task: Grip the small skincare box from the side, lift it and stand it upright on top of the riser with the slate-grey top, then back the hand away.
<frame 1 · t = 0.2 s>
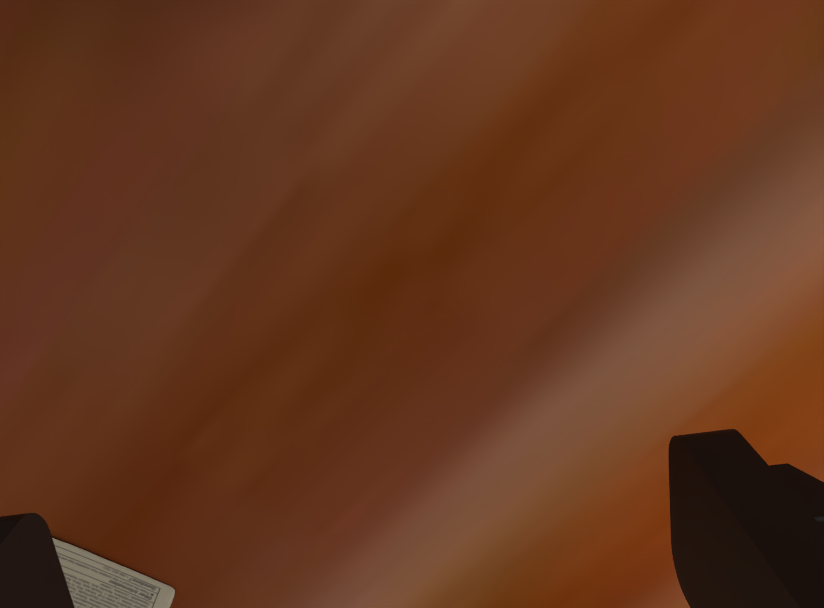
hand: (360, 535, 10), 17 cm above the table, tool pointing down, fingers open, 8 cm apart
skincare box: (95, 590, 32), on the table
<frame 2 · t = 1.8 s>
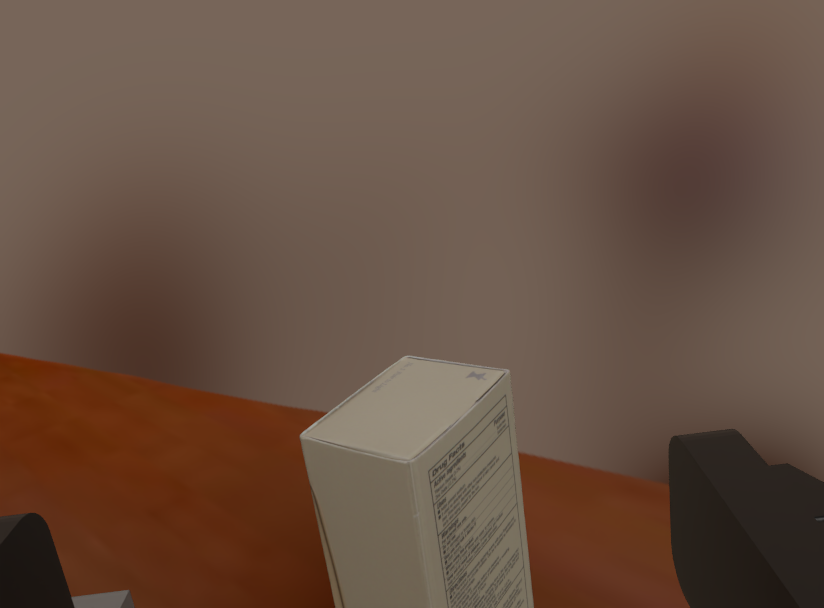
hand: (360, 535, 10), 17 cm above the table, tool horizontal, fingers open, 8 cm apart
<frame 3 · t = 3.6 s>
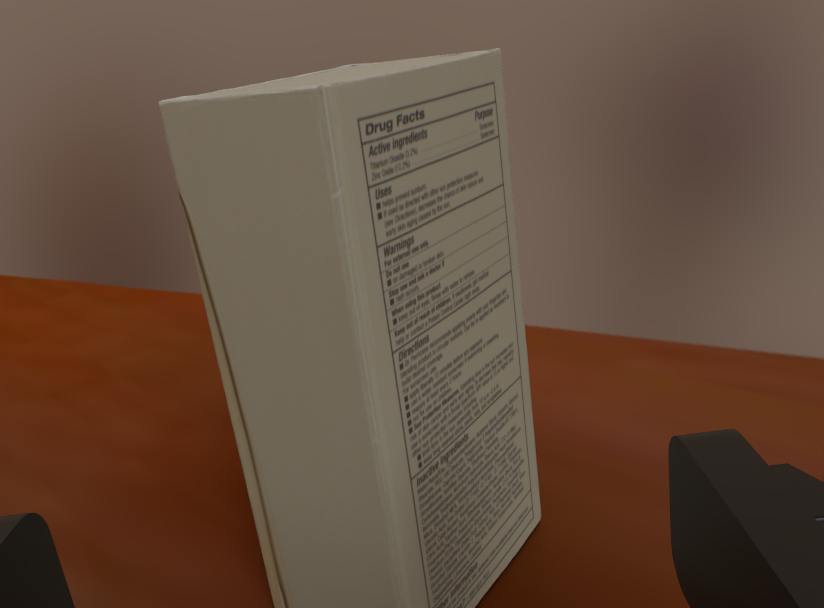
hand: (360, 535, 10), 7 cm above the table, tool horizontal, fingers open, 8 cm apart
skincare box: (418, 578, 19), on the table
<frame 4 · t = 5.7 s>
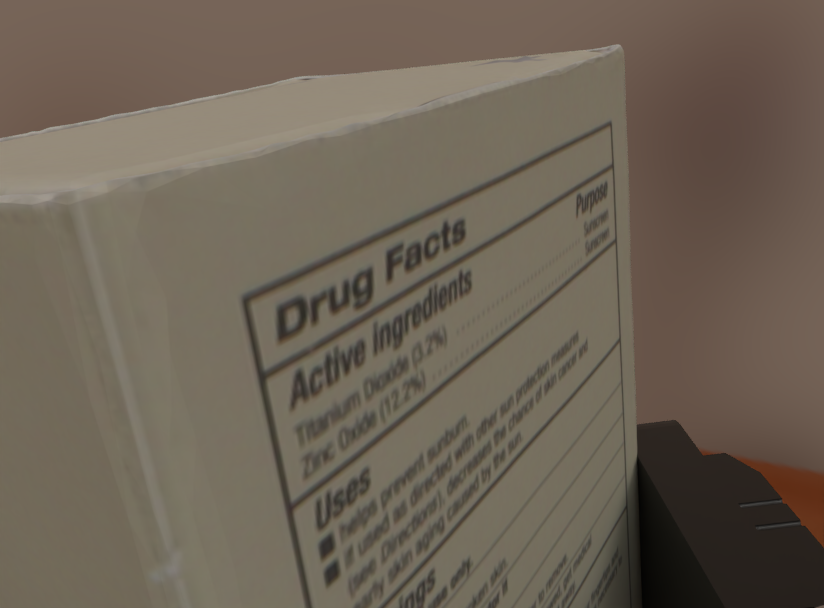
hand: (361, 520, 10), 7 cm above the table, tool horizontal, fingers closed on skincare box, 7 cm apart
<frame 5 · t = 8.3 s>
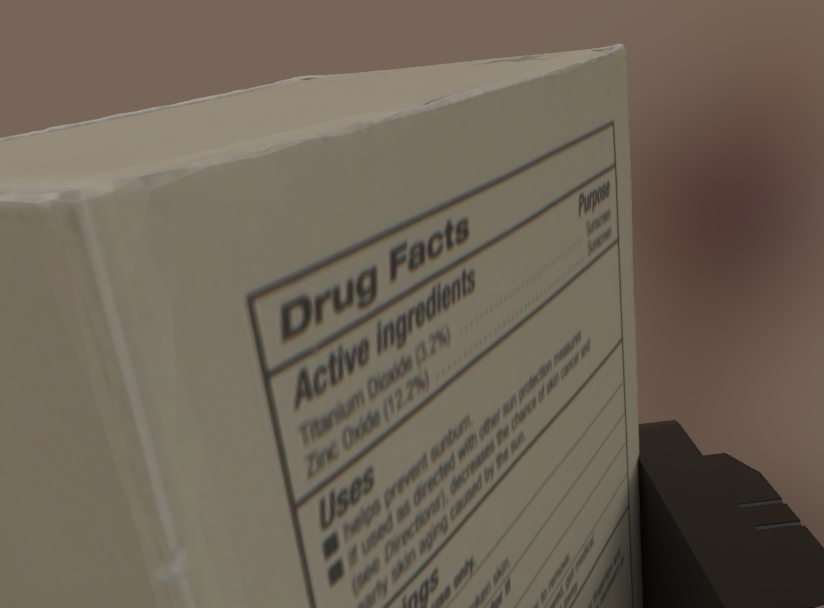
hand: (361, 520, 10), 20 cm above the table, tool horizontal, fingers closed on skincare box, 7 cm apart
when the fingers open (14 cm above the table, at t = 11.2 s): skincare box stays where it is, resting on riser.
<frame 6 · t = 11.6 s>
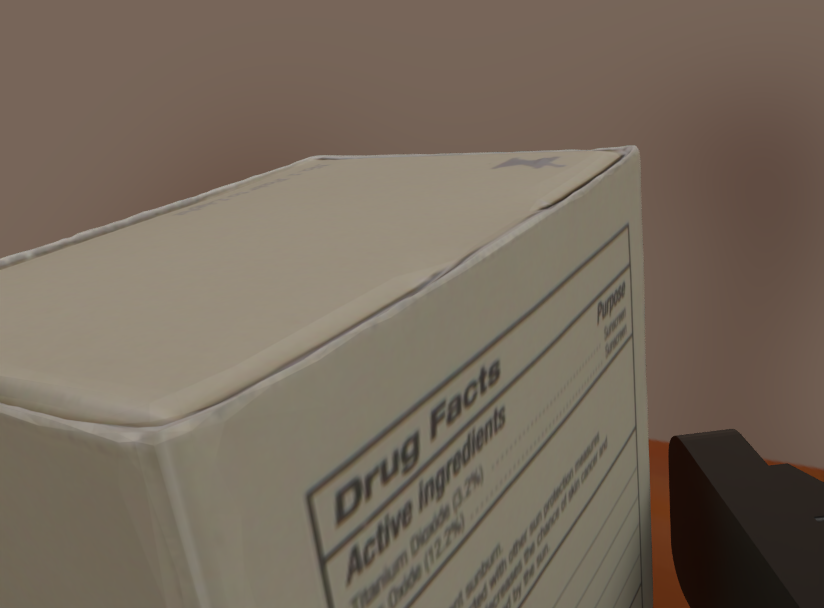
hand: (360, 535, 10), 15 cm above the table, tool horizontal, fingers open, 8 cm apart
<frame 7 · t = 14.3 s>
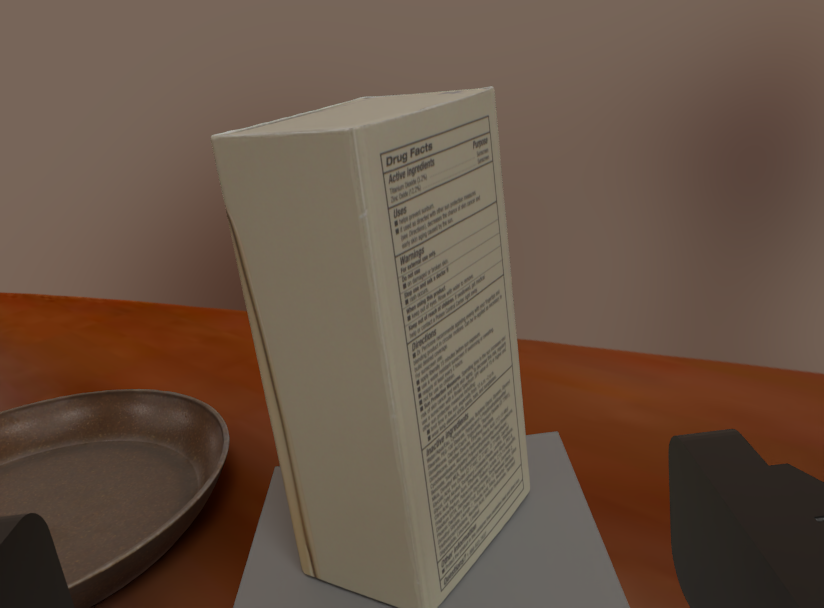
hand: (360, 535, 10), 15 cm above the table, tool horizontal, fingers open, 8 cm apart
skincare box: (424, 541, 22), point 7 cm above the table, touching riser
plant saucer: (34, 542, 39), on the table
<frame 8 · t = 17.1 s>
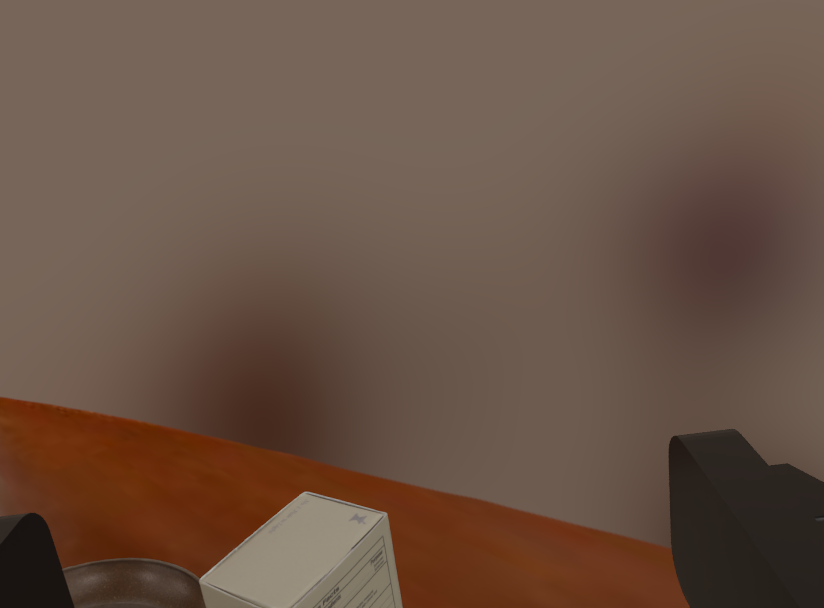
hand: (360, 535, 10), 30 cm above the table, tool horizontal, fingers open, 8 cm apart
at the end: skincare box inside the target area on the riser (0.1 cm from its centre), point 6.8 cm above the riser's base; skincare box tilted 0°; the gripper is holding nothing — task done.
